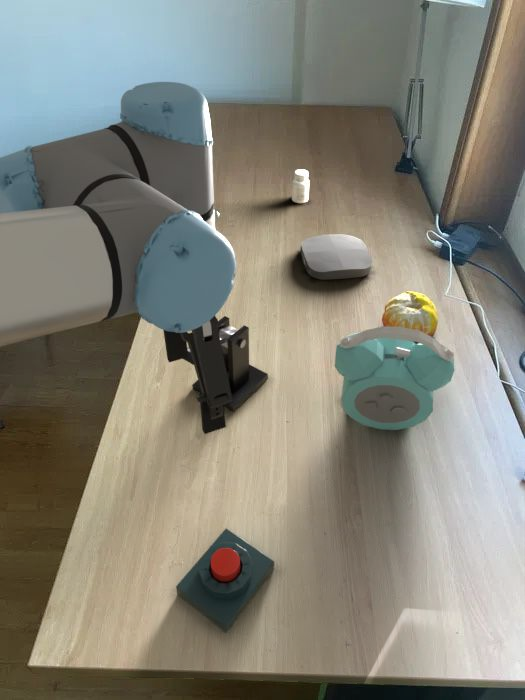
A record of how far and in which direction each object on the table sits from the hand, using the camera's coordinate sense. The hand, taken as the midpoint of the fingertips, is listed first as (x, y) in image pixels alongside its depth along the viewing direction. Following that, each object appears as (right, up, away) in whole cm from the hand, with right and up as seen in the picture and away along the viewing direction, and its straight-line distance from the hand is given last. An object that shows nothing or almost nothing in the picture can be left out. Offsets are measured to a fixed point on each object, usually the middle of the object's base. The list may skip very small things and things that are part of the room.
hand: (194, 391), depth 72 cm
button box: (+4, -25, 0) cm, 25 cm away
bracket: (+3, -1, +27) cm, 27 cm away
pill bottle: (+19, +45, +77) cm, 92 cm away
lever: (0, +5, +16) cm, 17 cm away
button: (+4, -22, -2) cm, 22 cm away
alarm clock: (+28, -6, +22) cm, 36 cm away
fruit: (+37, +10, +39) cm, 54 cm away
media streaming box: (+25, +25, +56) cm, 66 cm away
